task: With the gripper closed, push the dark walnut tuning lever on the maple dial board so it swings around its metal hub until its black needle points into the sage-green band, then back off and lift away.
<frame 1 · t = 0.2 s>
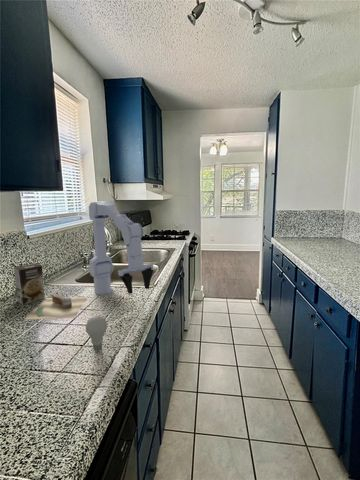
hand: (138, 290, 96), 11 cm above the worktop, tool pointing down, fingers open, 7 cm apart
lightbulb: (97, 351, 76), on the worktop
dial board: (59, 309, 104), on the worktop
coffee box: (31, 302, 111), on the worktop
tuning lever: (60, 300, 106), point 3 cm above the worktop, hinge at -35.0°
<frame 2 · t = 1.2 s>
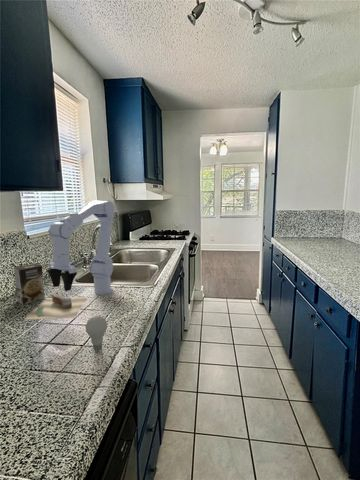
hand: (62, 288, 98), 11 cm above the worktop, tool pointing down, fingers open, 7 cm apart
nothing on the worktop moved.
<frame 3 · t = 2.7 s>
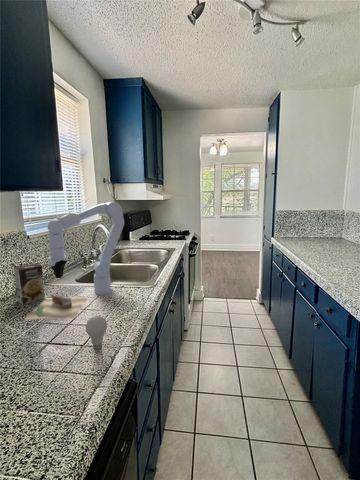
hand: (59, 277, 112), 10 cm above the worktop, tool pointing down, fingers closed
nothing on the worktop moved.
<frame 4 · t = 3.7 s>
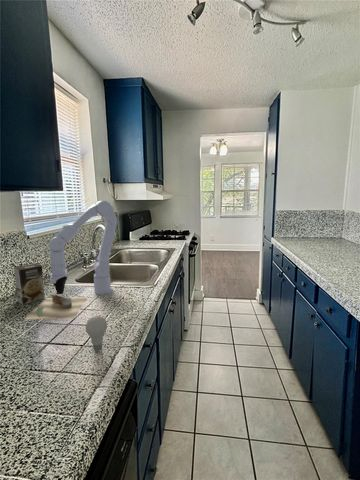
hand: (60, 293, 113), 3 cm above the worktop, tool pointing down, fingers closed
nothing on the worktop moved.
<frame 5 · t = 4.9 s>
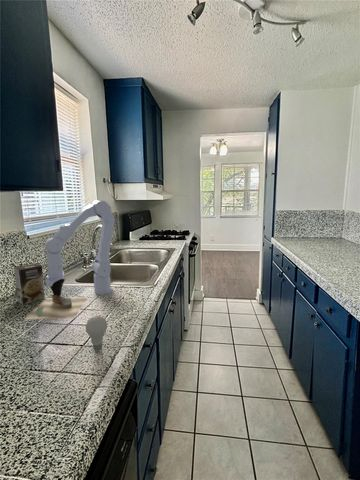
hand: (57, 296, 109), 3 cm above the worktop, tool pointing down, fingers closed, pressing on tuning lever
tuning lever: (60, 300, 106), point 3 cm above the worktop, hinge at -35.0°, touching gripper
everything else where it was.
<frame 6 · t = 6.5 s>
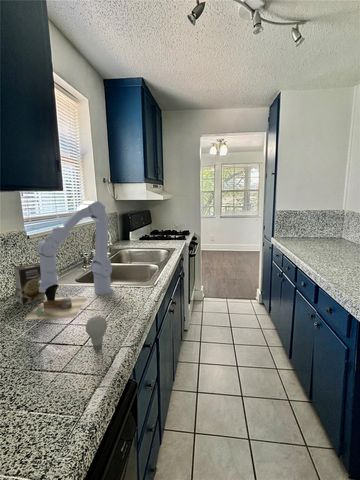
hand: (51, 302, 103), 3 cm above the worktop, tool pointing down, fingers closed, pressing on tuning lever
tuning lever: (56, 303, 103), point 3 cm above the worktop, hinge at 9.5°, touching gripper
everything else where it was.
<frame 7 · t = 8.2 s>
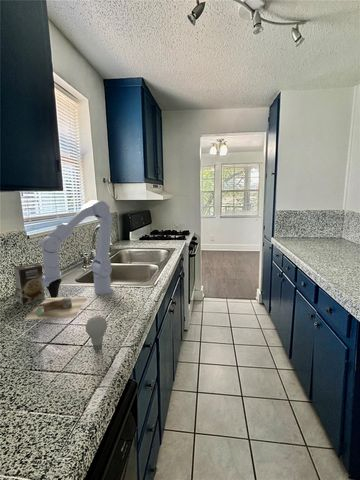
hand: (54, 297, 106), 4 cm above the worktop, tool pointing down, fingers closed
tuning lever: (56, 305, 101), point 3 cm above the worktop, hinge at 28.6°
everything else where it was.
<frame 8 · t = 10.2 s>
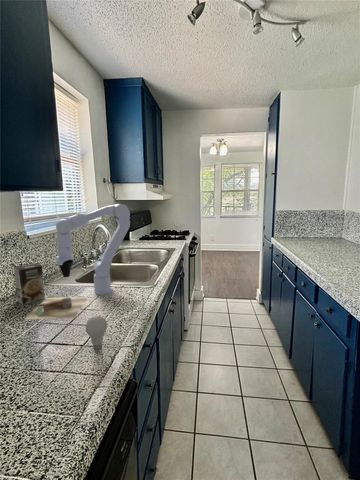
hand: (66, 276, 113), 10 cm above the worktop, tool pointing down, fingers closed
nothing on the worktop moved.
at the end: tuning lever at +29° (first picture: -35°) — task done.
